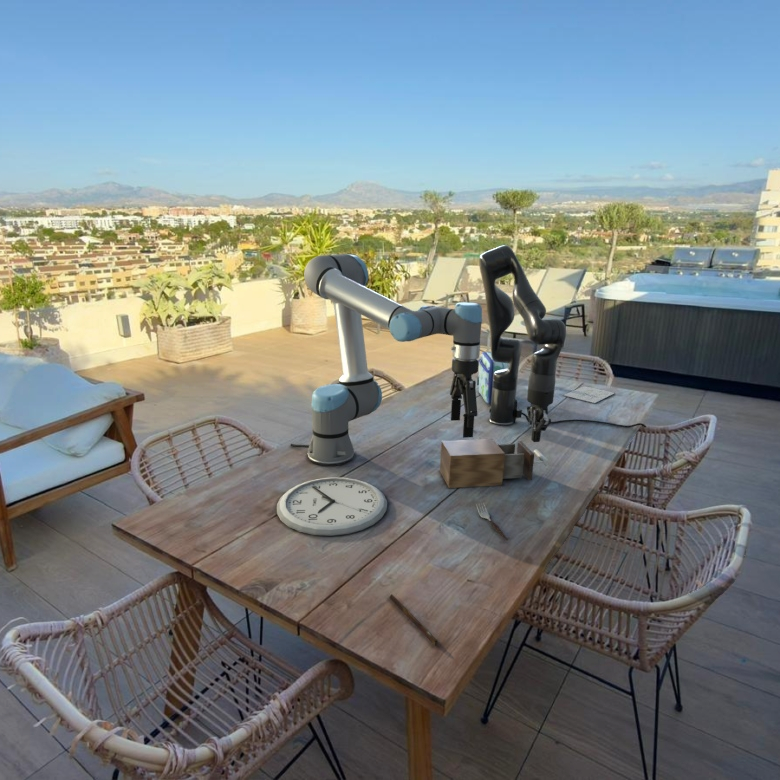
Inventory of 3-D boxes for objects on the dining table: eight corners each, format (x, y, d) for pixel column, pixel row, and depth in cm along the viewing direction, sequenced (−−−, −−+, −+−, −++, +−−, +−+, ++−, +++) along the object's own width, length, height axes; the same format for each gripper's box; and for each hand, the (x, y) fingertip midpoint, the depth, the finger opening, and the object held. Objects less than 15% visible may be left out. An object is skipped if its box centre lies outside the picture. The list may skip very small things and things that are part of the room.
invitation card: (584, 385, 255) (614, 392, 245) (584, 386, 255) (614, 393, 245) (563, 394, 240) (594, 402, 230) (563, 395, 240) (594, 403, 230)
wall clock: (392, 527, 129) (268, 531, 127) (391, 533, 130) (269, 537, 127) (383, 473, 158) (282, 475, 155) (383, 478, 158) (282, 480, 156)
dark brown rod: (389, 598, 107) (389, 594, 107) (391, 597, 107) (391, 593, 107) (435, 645, 95) (435, 641, 95) (437, 644, 96) (437, 640, 95)
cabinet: (489, 468, 166) (492, 438, 163) (502, 485, 156) (505, 453, 153) (439, 471, 164) (441, 440, 161) (448, 488, 153) (450, 455, 150)
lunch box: (475, 390, 246) (478, 346, 240) (498, 390, 246) (501, 347, 240) (484, 408, 221) (487, 360, 215) (509, 409, 221) (513, 360, 215)
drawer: (535, 464, 167) (538, 440, 165) (549, 478, 158) (552, 453, 156) (473, 467, 165) (475, 443, 162) (483, 482, 155) (485, 456, 153)
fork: (502, 542, 127) (502, 535, 126) (474, 509, 141) (475, 503, 141) (511, 541, 127) (512, 534, 127) (483, 508, 142) (484, 502, 142)
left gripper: (442, 348, 159) (439, 414, 166) (465, 370, 136) (460, 445, 142) (466, 348, 160) (462, 413, 167) (492, 369, 137) (486, 444, 143)
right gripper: (520, 380, 160) (515, 433, 165) (538, 394, 147) (532, 450, 152) (543, 380, 161) (538, 432, 166) (563, 393, 148) (556, 449, 153)
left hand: (461, 428), depth 154 cm, fingers open, 13 cm apart
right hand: (535, 441), depth 159 cm, fingers closed
